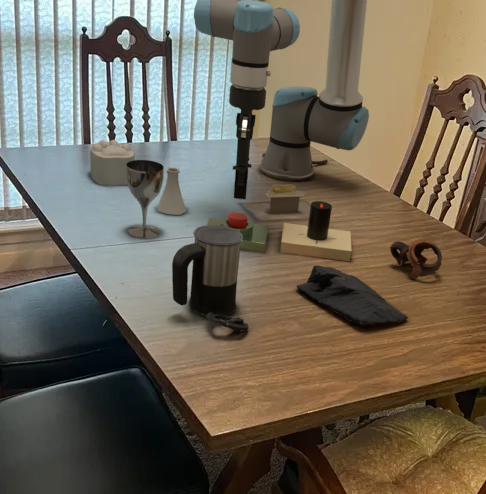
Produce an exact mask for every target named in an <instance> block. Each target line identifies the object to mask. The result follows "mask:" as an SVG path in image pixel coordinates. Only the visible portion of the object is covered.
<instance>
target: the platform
mask: <svg viewBox="0 0 486 494" xmlns="http://www.w3.org/2000/svg"><path fill="white" fill-rule="evenodd" d="M296 187H297V186H294V185H293V184H272V185H271V189H267V192H266V196H267V198H270V202H259V203H258V202H257V203H255V202H254V203H241V206H242V207H243V208H244V209H245V210H247V211H255V212H262V213H269V214H275V215H285V216H292V217H301V218H307V219H309V215H310V207H311V205H309V204H308V203H307V202H305V201H300V199H301V197H306V193H305V192H304V191H300V190H297V189H296Z"/></svg>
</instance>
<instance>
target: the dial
mask: <svg viewBox="0 0 486 494" xmlns="http://www.w3.org/2000/svg"><path fill="white" fill-rule="evenodd" d="M332 210H333V205H332V204H331V203H329V202H327V201H320V200H319V201H318V200H316V201H312V202H311V203H310V215H309V218H308V223H307V226H308V229H307V237H309V238H311V239H313V240H325V239H327V236H328V229H330V222H331V216H332Z"/></svg>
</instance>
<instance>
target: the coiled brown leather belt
mask: <svg viewBox="0 0 486 494" xmlns="http://www.w3.org/2000/svg"><path fill="white" fill-rule="evenodd" d="M389 249H390V250H389V251H390V254H391V256H392V257H393V258H394V259H395V260H396V263H397V265H398V266H401V265H404V264H406V263H409V264H410V266H411V267H412V268H413V269H412V271H411V272H410V273H409V277H410V278H411V279H413V280H417V279H418V278H419V277H420V278H422V277H428V276H431V275H434V274H436V272H438V271H439V270H440V268H441V266H442V260H443V254H442V251H441V250H440V248H439V247H438V246H437V245H436V244H435V243H433V242H431V241H427V240H417V241H415V242H414V243H413V242H412V243H411V244H406V243H405V242H403V241H401V240H400V241H399V240H397V241H394V242H392V244H391V245H390V247H389ZM429 249H431V250H432V251H433V253H434V254H435V255H436V256H437V260H436V261H435V262H433V263H430V264H429V263H427V261H428V257H426V256H424V255H423V254H422V253H423V252H424V250H429Z"/></svg>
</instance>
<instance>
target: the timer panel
mask: <svg viewBox="0 0 486 494" xmlns="http://www.w3.org/2000/svg"><path fill="white" fill-rule="evenodd" d="M307 229H308V225H305V224H304V225H303V224H297V223H288V222H283V226H282V235H281V242H280V248H279V249H280V251H279V252H280V253H284V254H291V255H299V256H306V257H315V258H321V259H328V260H329V259H330V260H336V261H344V262H351V257H352V249H353V248H352V235H351V234H352V233H351V231H350V230H341V229H334V228H329V229H328V236H327V239H325V240H313V239H311V238H309V237H307Z"/></svg>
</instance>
